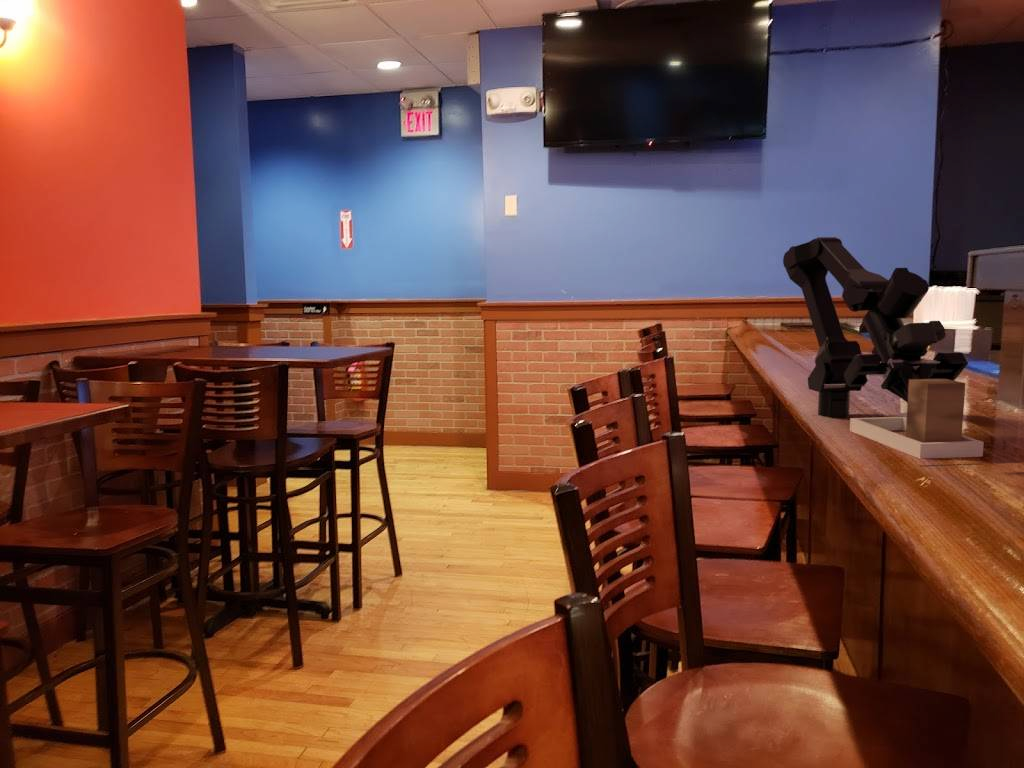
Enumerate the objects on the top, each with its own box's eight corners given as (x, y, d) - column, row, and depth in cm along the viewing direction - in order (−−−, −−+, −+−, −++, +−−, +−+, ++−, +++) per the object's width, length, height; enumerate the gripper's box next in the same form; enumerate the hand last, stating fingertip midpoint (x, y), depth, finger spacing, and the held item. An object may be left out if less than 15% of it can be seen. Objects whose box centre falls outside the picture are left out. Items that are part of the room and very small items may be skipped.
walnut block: (904, 447, 125) (908, 379, 124) (940, 446, 126) (945, 378, 124) (923, 454, 120) (927, 384, 119) (960, 453, 121) (965, 383, 119)
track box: (849, 437, 139) (850, 418, 138) (903, 435, 140) (904, 416, 139) (919, 466, 118) (920, 444, 118) (982, 464, 119) (983, 441, 118)
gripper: (855, 305, 127) (890, 381, 118) (964, 303, 129) (1007, 378, 119) (830, 349, 136) (860, 422, 127) (932, 346, 137) (969, 419, 128)
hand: (924, 410), depth 125 cm, fingers closed, pressing on walnut block
